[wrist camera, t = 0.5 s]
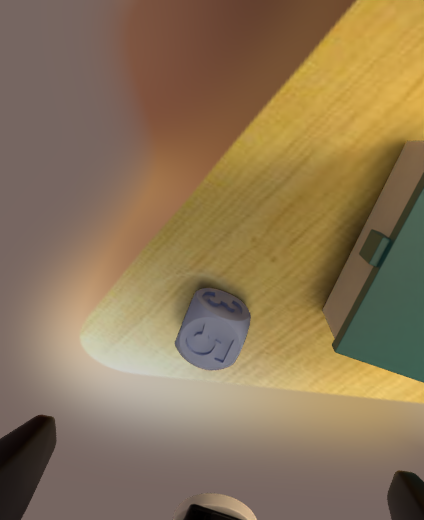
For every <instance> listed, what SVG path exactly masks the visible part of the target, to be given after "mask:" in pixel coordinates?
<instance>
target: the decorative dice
mask: <svg viewBox="0 0 424 520" xmlns="http://www.w3.org/2000/svg"><path fill="white" fill-rule="evenodd" d="M250 319H251V315H250V312H249V310H248V308H247V307H246V305H245V304H244V303H243V302H242V301H240V300H239V299H238V298H236V297H235V296H233V295H231V294H229V293H227V292H224V291H221V290H218V289H213V288H203V289H200V290H197V291H195V293H194V296H193V298H192V300H191V303H190V305H189V308H188V310H187V312H186V315H185V317H184V320H183V322H182V325H181V328H180V330H179V333H178V335H177V338H176V341H175V346H176V348H177V350H178V351H179V353H180V354H181V355H182V357H183V358H184V359H185V360H187V361H188V362H189V363H191V364H193V365H194V366H197V367H199V368H202V369H206V370H219V369H224V368H227V367H229V366H231V365H233V364H234V362H235V361H236V359H237V357H238V356H239V354H240V351H241V349H242V347H243V344H244V342H245V339H246V336H247V333H248V329H249V325H250Z"/></svg>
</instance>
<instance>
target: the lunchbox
mask: <svg viewBox="0 0 424 520" xmlns="http://www.w3.org/2000/svg"><path fill="white" fill-rule="evenodd" d="M322 311H323V314H324V316H325V318H326V320H327V323H328V325H329V327H330V329H331V331H332V334H333V336H334V338H335V340H334V341H333V343H332V346H333V349H334V351H335V352H336V353H339V354H342V355H345V356H348V357H351V358H353V359H356V360H359V361H362V362H365V363H368V364H371V365H374V366H377V367H380V368H383V369H386V370H388V371H391V372H394V373H397V374H400V375H403V376H406V377H409V378H412V379H415V380H418V381H421V382H424V141H407V142H406V143H405V145H404V147H403V149H402V151H401V153H400V155H399V157H398V159H397V161H396V163H395V165H394V167H393V169H392V171H391V173H390V175H389V177H388V179H387V181H386V183H385V185H384V187H383V189H382V191H381V193H380V195H379V197H378V199H377V201H376V203H375V205H374V207H373V209H372V211H371V213H370V216H369V218H368V220H367V222H366V224H365V226H364V228H363V230H362V232H361V234H360V236H359V238H358V240H357V242H356V244H355V246H354V248H353V250H352V252H351V254H350V256H349V258H348V260H347V262H346V264H345V266H344V268H343V270H342V272H341V274H340V276H339V278H338V280H337V282H336V284H335V286H334V288H333V290H332V292H331V294H330V296H329V298H328V300H327V302H326V304H325V306H324V308H323V310H322Z"/></svg>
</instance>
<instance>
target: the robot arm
mask: <svg viewBox="0 0 424 520" xmlns="http://www.w3.org/2000/svg"><path fill="white" fill-rule="evenodd" d="M55 445H56V427H55V419H54V418H53V417H52V416H46V415H38V416H36V417H34V418H32V419H31V420H29V421H28V422H26V423H25V424H23V425H21V426H20V427H18V428H17V429H15V430H13V431H12V432H10V433H9V434H7V435H5V436H4V437H2V438H1V439H0V520H21V518H22V516H23V514H24V512H25V511H26V509H27V507H28V505H29V502H30V500H31V498H32V496H33V494H34V492H35V490H36V488H37V485H38V483H39V481H40V479H41V477H42V475H43V472H44V470H45V468H46V466H47V464H48V462H49V459H50V457H51V455H52V453H53V451H54V448H55ZM387 500H388V506H389V510H390V514H391V519H392V520H424V482H423V481H422V480H421V479H420V478H419V477H418V476H417V475H416V474H414V473H412V472H406V471H397V472H395V474H394V477H393V480H392V483H391V485H390V488H389V491H388V495H387ZM183 520H242V519H239V518H236V517H233V516H230V515H227V514H224V513H221V512H218V511H215V510H212V509H209V508H206V507H203V506H200V505H197V504H191V505H190V506H189V508H188V510H187V513H186V515H185V517H184V519H183Z"/></svg>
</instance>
